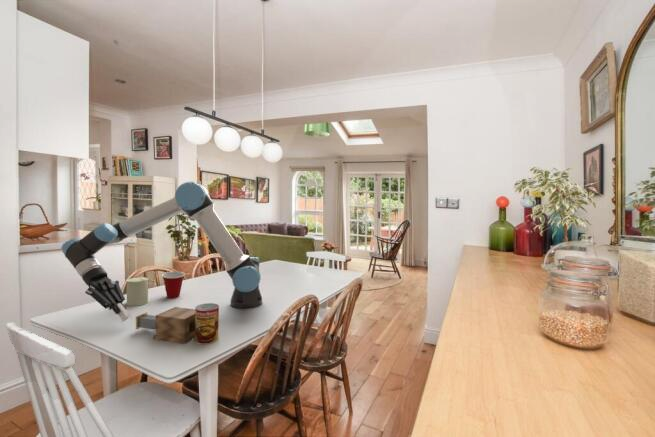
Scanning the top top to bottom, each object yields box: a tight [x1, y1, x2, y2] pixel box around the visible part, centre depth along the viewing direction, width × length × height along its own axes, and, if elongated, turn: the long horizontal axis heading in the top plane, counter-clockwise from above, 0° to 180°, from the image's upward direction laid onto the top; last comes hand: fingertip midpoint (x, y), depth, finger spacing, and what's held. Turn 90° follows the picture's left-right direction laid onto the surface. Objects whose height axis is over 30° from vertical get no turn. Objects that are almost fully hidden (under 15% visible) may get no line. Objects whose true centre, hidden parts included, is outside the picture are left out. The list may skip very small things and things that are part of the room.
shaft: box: [135, 312, 191, 331], centre depth 118 cm, size 21×5×5 cm, turn 76°
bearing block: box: [152, 306, 195, 345], centre depth 117 cm, size 13×11×8 cm
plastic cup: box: [161, 271, 186, 299], centre depth 164 cm, size 11×11×12 cm
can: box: [125, 277, 149, 307], centre depth 152 cm, size 9×9×12 cm
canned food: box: [194, 302, 220, 345], centre depth 114 cm, size 8×8×12 cm
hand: (126, 318), depth 122 cm, fingers closed
